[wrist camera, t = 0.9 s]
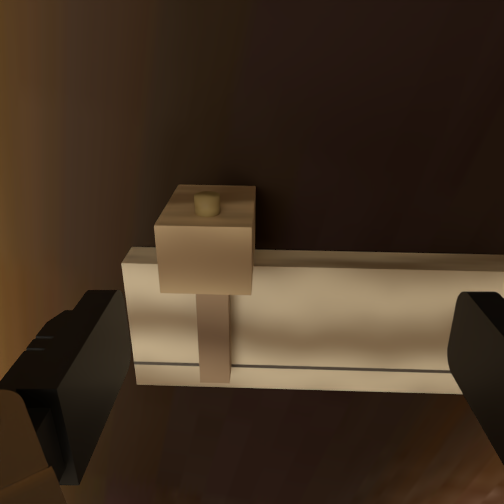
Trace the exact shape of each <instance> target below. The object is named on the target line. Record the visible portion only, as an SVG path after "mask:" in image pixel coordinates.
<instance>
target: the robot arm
mask: <svg viewBox="0 0 504 504" xmlns="http://www.w3.org/2000/svg"><path fill="white" fill-rule="evenodd" d="M130 356H131V345H130V338H129V331H128V324H127V317H126V310H125V303H124V297H123V294H122V292H121V291H120V290H88V291H87V292H86V293H85V294H84V296H83V297H82V298H81V300H80V301H79V302H78V304H77V305H76V307H75V308H74V309H73V310H65V311H63V312H62V313H60V314H59V315H57V316H56V317H54V318H53V319H51V320H50V321H48V322H47V323H46V324H45V325H44V327H43V328H42V329H41V330H40V332H39V333H38V334H37V335H36V339H33V340H32V342H31V343H30V344H29V345H28V347H27V350H26V351H24V352H23V353H22V354H21V356H20V357H19V358H18V359H17V361H16V362H15V363H14V364H13V366H12V367H11V368H10V369H9V371H8V372H7V373H6V374H5V376H4V377H3V378H2V380H1V381H0V504H67V503H66V500H65V498H64V495H63V493H62V490H61V487H60V485H79V484H80V482H81V480H82V477H83V475H84V473H85V470H86V468H87V466H88V463H89V461H90V458H91V456H92V454H93V451H94V449H95V447H96V444H97V442H98V440H99V437H100V435H101V432H102V430H103V428H104V425H105V423H106V421H107V418H108V416H109V414H110V411H111V409H112V407H113V404H114V402H115V399H116V397H117V395H118V392H119V390H120V388H121V385H122V383H123V381H124V378H125V376H126V373H127V371H128V368H129V364H130ZM447 359H448V365H449V369H450V372H451V374H452V376H453V377H454V379H455V381H456V383H457V384H458V386H459V388H460V390H461V391H462V393H463V395H464V397H465V398H466V400H467V402H468V404H469V405H470V407H471V409H472V411H473V412H474V414H475V416H476V418H477V419H478V421H479V423H480V425H481V426H482V428H483V430H484V432H485V433H486V435H487V437H488V439H489V440H490V442H491V444H492V446H493V447H494V449H495V451H496V453H497V454H498V456H499V458H500V460H501V461H502V463H503V465H504V298H503V297H502V296H501V295H500V294H499V293H497V292H467V291H463V292H461V293H460V294H459V295H458V298H457V301H456V305H455V310H454V316H453V321H452V326H451V331H450V336H449V342H448V347H447Z"/></svg>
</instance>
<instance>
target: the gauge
mask: <svg viewBox="0 0 504 504" xmlns="http://www.w3.org/2000/svg"><path fill="white" fill-rule="evenodd" d="M255 204H256V186H225V185H178V186H177V188H176V190H175V191H174V193H173V195H172V196H171V198H170V200H169V201H168V203H167V205H166V206H165V208H164V210H163V211H162V213H161V215H160V216H159V218H158V220H157V221H156V223H155V225H154V230H155V241H156V252H157V263H158V274H159V285H160V293H174V294H196V311H197V330H198V349H199V369H200V383H230V376H231V301H230V295H251V294H252V279H253V265H254V251H255Z"/></svg>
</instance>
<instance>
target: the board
mask: <svg viewBox="0 0 504 504" xmlns="http://www.w3.org/2000/svg"><path fill="white" fill-rule="evenodd" d="M122 271H123V279H124V287H125V294H126V302H127V310H128V318H129V326H130V333H131V341H132V349H133V357H134V364H135V372H136V380H137V384H138V385H172V386H206V387H240V388H274V389H308V390H342V391H376V392H409V393H443V394H463V393H462V391H461V390H460V388H459V386H458V384H457V383H456V381H455V379H454V377H453V376H452V374H451V372H450V369H449V365H448V359H447V347H448V342H449V336H450V331H451V326H452V321H453V316H454V310H455V305H456V301H457V298H458V295H459V294H460V293H461V292H463V291H467V292H497V293H499V294H500V295H501V296H502V297H503V298H504V255H489V254H442V253H395V252H348V251H301V250H255V251H254V265H253V279H252V294H251V295H230V301H231V376H230V383H200V369H199V349H198V330H197V311H196V294H174V293H160V285H159V274H158V263H157V252H156V247H132V248H131V249H130V251H129V252H128V254H127V255H126V257H125V259H124V260H123V262H122Z"/></svg>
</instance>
